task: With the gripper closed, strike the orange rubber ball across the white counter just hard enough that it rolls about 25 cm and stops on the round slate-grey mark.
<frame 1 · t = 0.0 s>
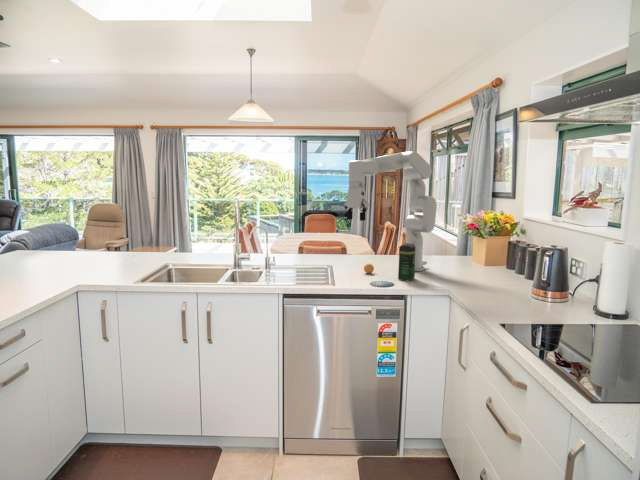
hand: (356, 219, 205), 31 cm above the worktop, tool pointing down, fingers open, 9 cm apart
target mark: (382, 284, 201), on the worktop
ball: (368, 268, 226), on the worktop
coffee jar: (406, 279, 212), on the worktop
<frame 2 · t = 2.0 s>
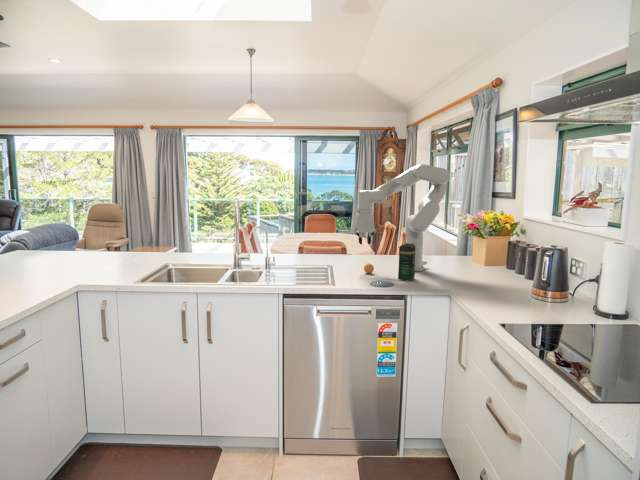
hand: (364, 243, 233), 15 cm above the worktop, tool pointing down, fingers open, 4 cm apart
nothing on the worktop moved.
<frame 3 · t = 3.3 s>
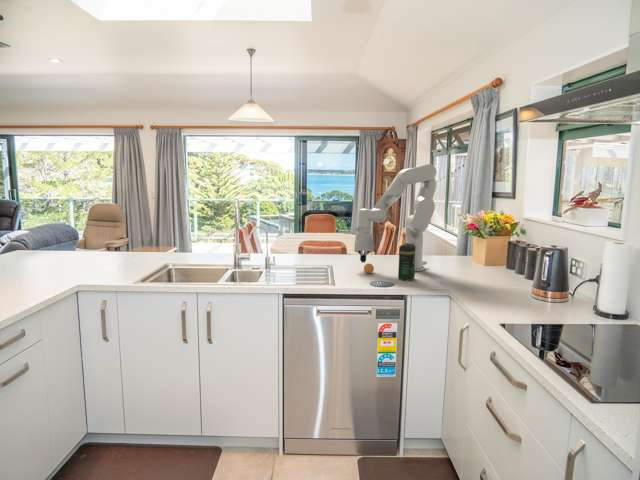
hand: (363, 262, 235), 5 cm above the worktop, tool pointing down, fingers closed
nothing on the worktop moved.
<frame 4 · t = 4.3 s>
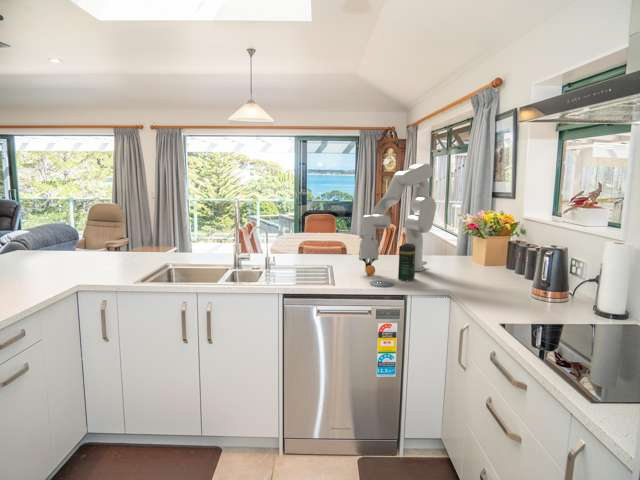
hand: (368, 270, 226), 2 cm above the worktop, tool pointing down, fingers closed
ball: (370, 270, 221), on the worktop
everything else where it was.
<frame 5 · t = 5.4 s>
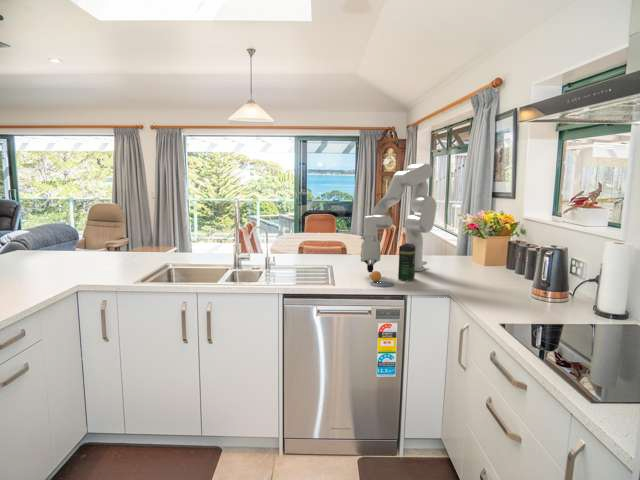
hand: (370, 271, 223), 2 cm above the worktop, tool pointing down, fingers closed
ball: (375, 276, 206), on the worktop
everything else where it was.
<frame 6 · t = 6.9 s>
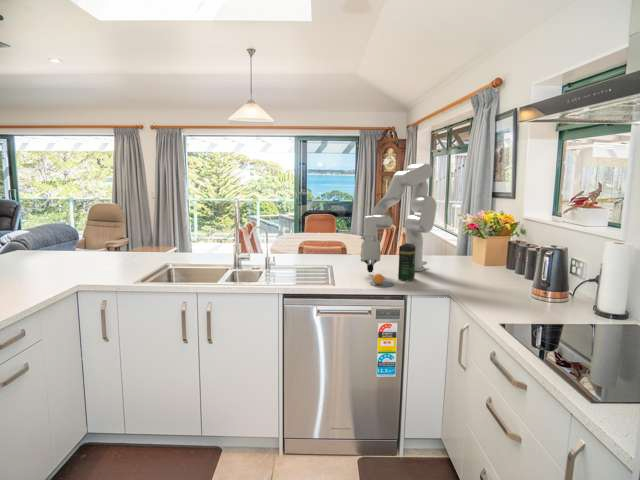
hand: (370, 271, 223), 2 cm above the worktop, tool pointing down, fingers closed
ball: (378, 279, 200), on the worktop
everything else where it was.
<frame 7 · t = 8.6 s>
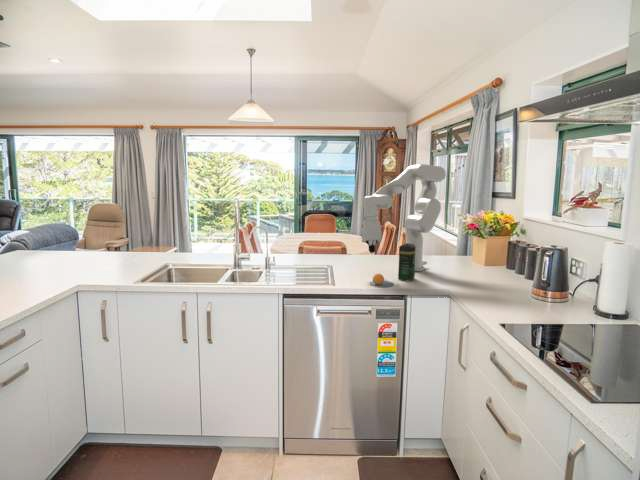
hand: (371, 252, 222), 12 cm above the worktop, tool pointing down, fingers closed
nothing on the worktop moved.
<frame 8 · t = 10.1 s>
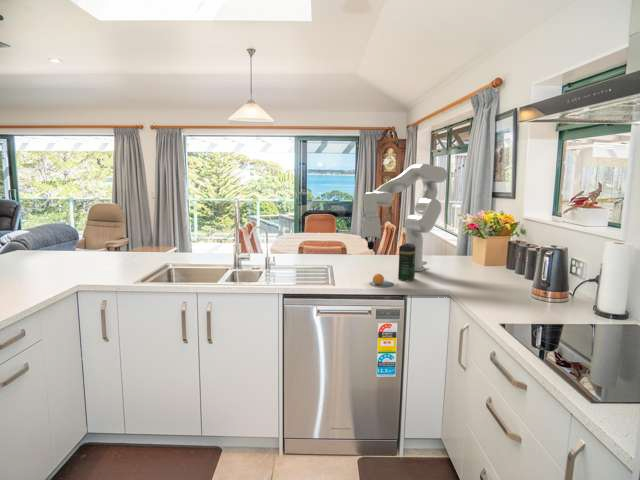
hand: (370, 249, 221), 14 cm above the worktop, tool pointing down, fingers closed
nothing on the worktop moved.
at the end: ball 2.4 cm from the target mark (horizontally); ball at rest at the end (0.0 cm/s); ball moved 26.1 cm from its start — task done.
